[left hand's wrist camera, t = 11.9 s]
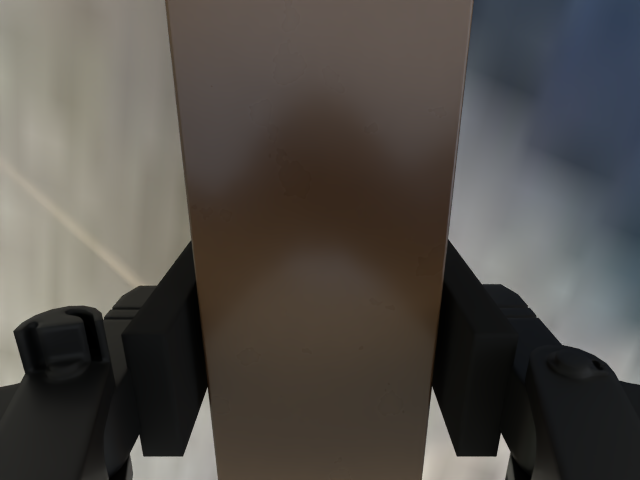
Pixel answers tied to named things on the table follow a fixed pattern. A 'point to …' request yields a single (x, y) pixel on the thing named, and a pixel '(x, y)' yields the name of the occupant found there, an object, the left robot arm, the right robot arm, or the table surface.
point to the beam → (319, 223)
